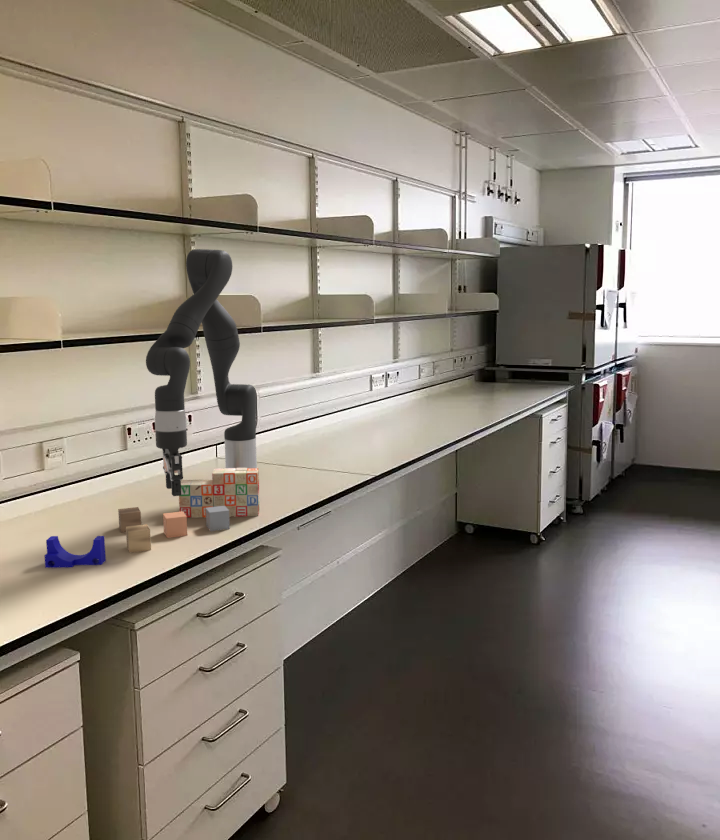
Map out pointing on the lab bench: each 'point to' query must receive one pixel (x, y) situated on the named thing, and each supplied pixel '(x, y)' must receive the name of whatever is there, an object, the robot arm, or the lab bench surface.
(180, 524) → the terracotta block
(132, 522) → the tan block
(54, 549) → the blue cradle bracket
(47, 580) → the lab bench surface
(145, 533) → the oak block
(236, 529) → the lab bench surface
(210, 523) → the gray block
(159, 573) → the lab bench surface
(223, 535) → the lab bench surface
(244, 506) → the stack of blocks
